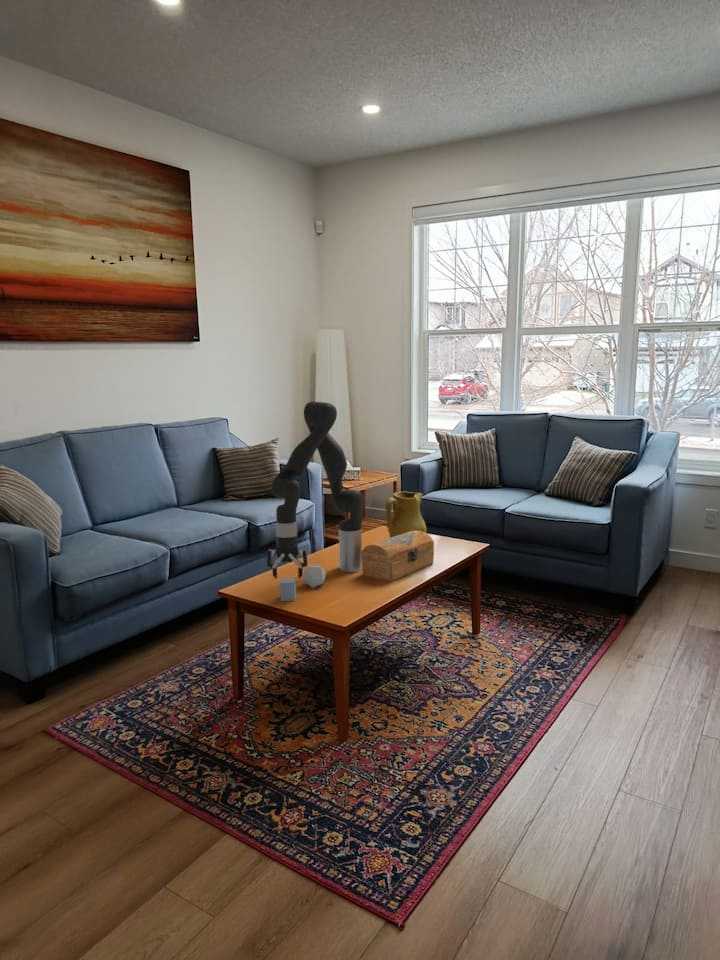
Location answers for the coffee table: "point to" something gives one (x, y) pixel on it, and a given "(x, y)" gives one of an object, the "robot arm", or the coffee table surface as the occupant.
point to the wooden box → (398, 556)
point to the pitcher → (404, 513)
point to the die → (314, 575)
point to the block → (288, 589)
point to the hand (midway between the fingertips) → (287, 577)
